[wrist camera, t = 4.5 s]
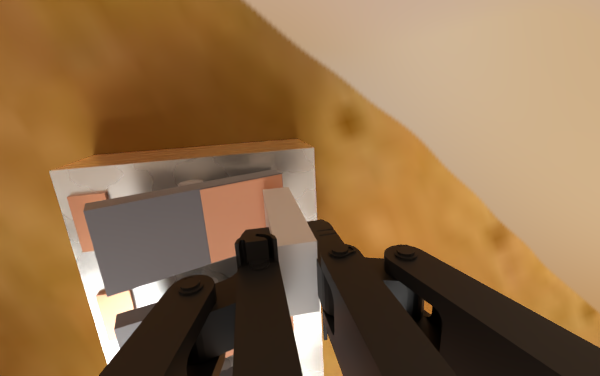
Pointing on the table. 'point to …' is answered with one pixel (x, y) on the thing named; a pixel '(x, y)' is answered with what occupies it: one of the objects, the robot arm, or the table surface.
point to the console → (167, 174)
